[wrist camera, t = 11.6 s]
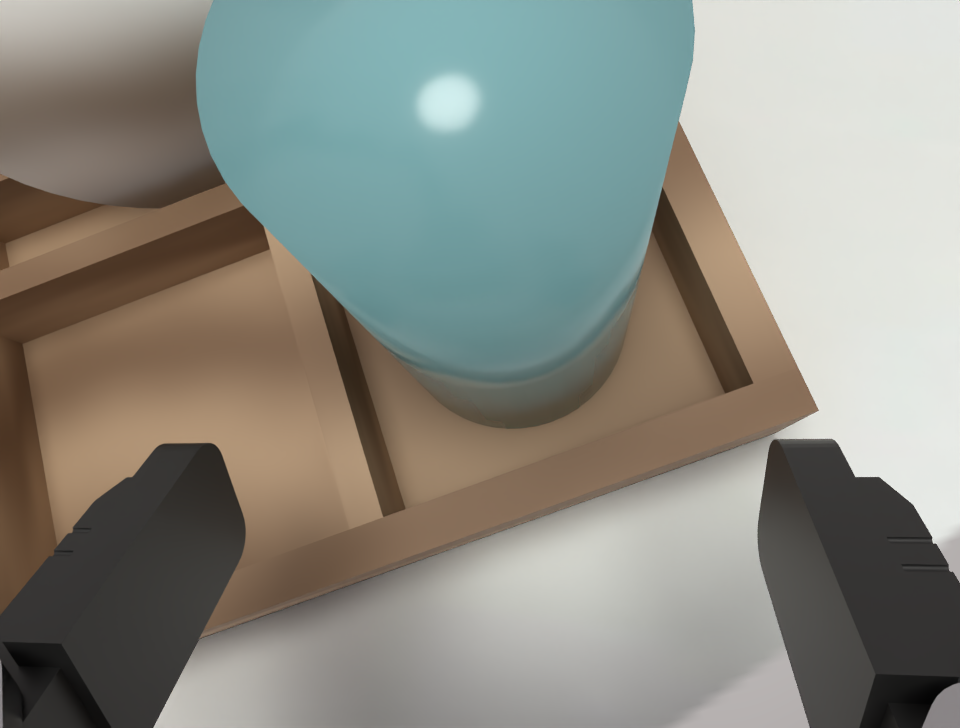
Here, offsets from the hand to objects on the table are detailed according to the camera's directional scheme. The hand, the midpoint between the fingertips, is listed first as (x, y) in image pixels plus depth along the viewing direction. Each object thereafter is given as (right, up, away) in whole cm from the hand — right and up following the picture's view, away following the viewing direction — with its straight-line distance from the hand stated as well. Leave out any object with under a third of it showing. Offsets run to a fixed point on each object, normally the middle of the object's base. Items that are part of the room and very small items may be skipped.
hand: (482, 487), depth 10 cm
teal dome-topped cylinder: (+1, +3, +9) cm, 9 cm away
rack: (-4, +3, +10) cm, 11 cm away
